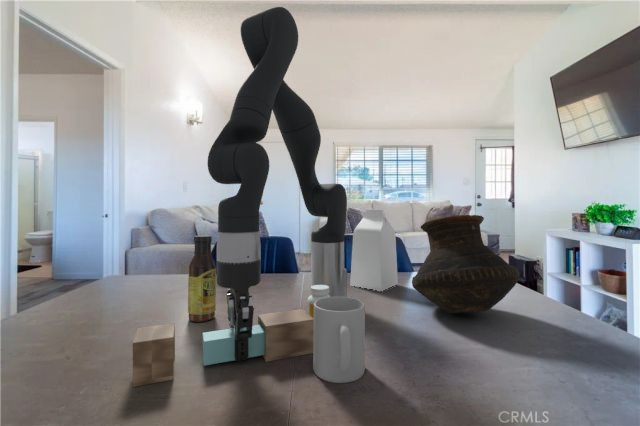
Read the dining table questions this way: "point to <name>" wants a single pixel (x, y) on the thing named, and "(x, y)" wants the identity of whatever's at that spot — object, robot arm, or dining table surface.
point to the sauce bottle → (202, 282)
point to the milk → (374, 253)
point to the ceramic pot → (462, 267)
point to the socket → (154, 354)
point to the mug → (339, 339)
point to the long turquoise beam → (231, 345)
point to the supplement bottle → (316, 297)
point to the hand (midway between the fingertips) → (239, 353)
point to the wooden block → (287, 334)
